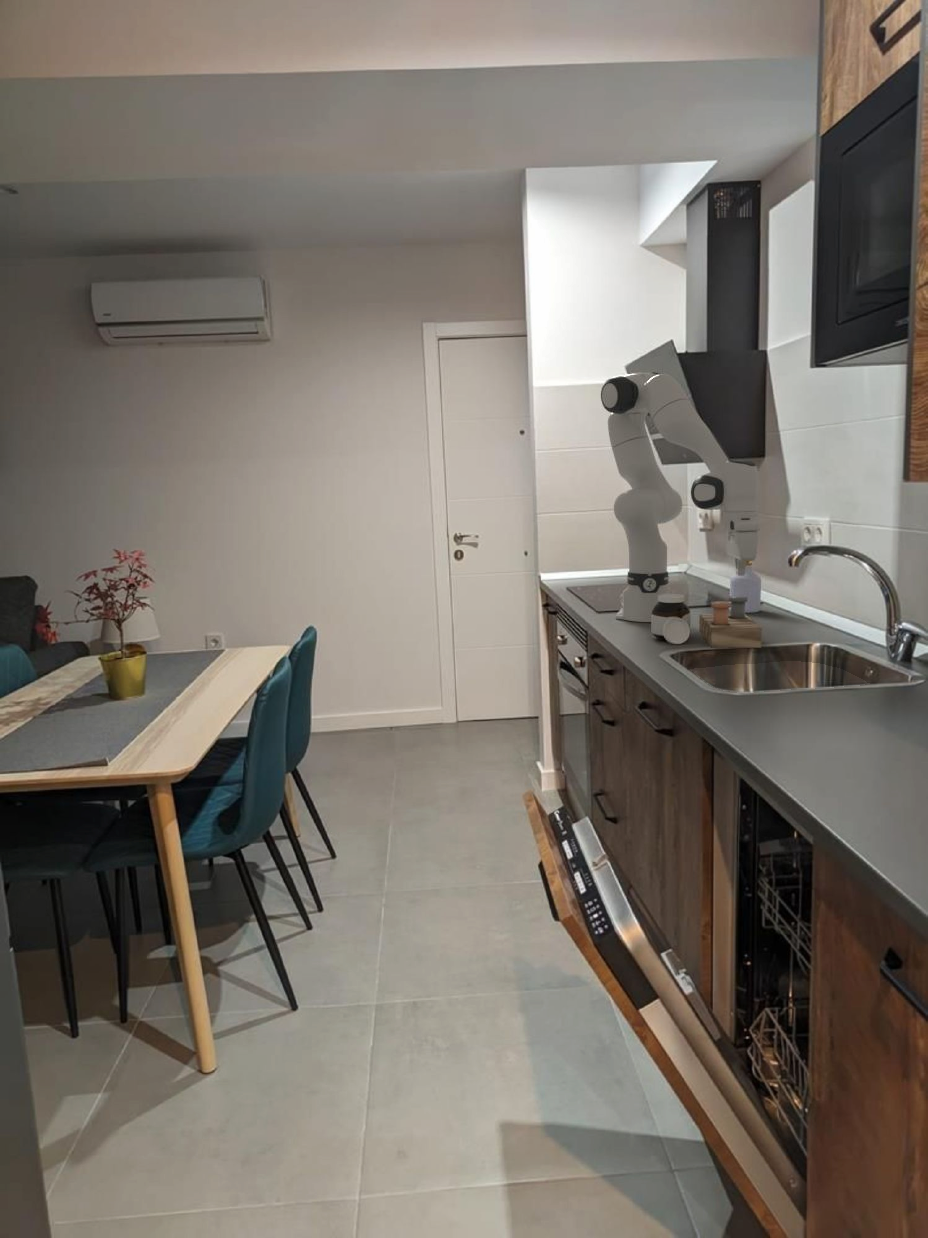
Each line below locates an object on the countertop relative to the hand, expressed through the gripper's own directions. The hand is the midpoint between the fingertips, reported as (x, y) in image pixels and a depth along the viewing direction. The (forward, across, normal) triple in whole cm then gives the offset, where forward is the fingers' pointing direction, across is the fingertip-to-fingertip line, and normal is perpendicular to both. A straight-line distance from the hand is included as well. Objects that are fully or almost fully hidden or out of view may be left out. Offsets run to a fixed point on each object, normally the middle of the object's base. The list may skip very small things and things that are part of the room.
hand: (740, 575), depth 222 cm
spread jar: (+16, +5, -18) cm, 25 cm away
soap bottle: (+16, -40, +9) cm, 44 cm away
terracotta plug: (+13, +8, -7) cm, 17 cm away
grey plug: (+13, -1, -1) cm, 13 cm away
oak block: (+16, +4, -4) cm, 17 cm away
